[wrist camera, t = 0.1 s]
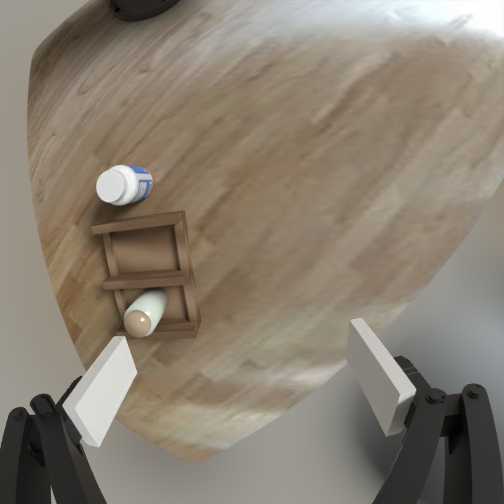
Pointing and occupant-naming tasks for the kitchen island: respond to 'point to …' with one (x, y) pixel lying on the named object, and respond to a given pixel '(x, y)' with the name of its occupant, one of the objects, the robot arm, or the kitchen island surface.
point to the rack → (152, 269)
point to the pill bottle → (124, 184)
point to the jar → (146, 312)
